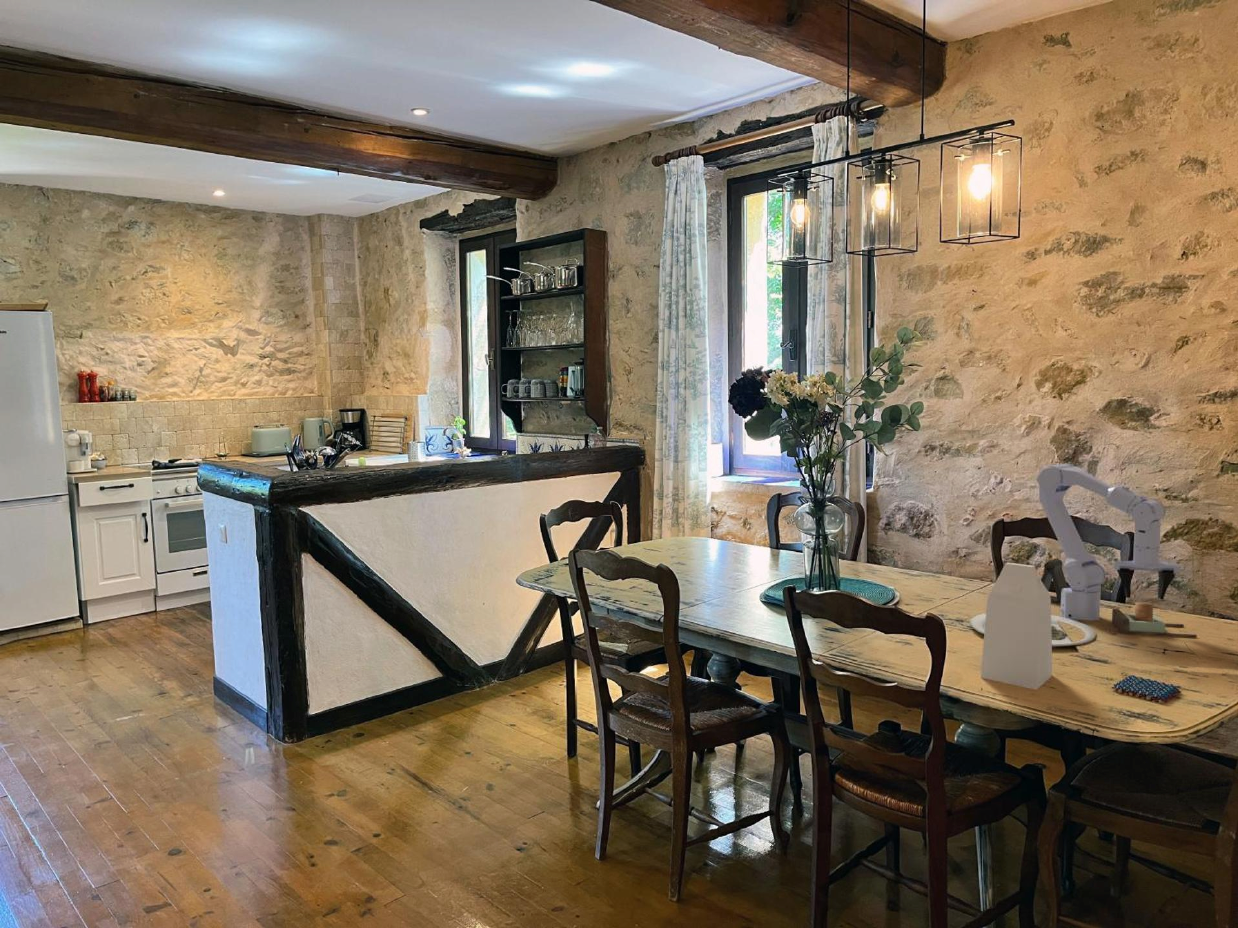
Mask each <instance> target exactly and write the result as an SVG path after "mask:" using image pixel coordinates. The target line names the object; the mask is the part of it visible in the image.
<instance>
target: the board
mask: <svg viewBox="0 0 1238 928" xmlns="http://www.w3.org/2000/svg"><path fill="white" fill-rule="evenodd" d="M1111 610H1112V613H1111V614H1112V615H1111V616H1112V618H1111V624H1112V625H1113V626H1114V627H1115V628H1116V629H1117V630H1118V632H1120V633H1121V634H1122V635H1135V636H1137V635H1138V636H1153V637H1156V636H1157V637H1172V638H1173V637H1174V638H1189V639H1197V634H1192V633H1191V634H1190V633H1175V632H1174V633H1172V632H1165V633H1158V632H1140V631H1129V619H1128V618H1127V617H1126V616H1125V615H1124V614H1125V613H1124V614H1123V612H1122V611H1121V610H1120V609H1119V608H1112V609H1111ZM1164 623H1165V628H1166V627H1168V628H1169V627H1170V628H1184V627H1185V626H1184V625H1185V624H1183V623H1168V622H1167V623H1166V622H1164Z"/></svg>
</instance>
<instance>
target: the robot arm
mask: <svg viewBox="0 0 1238 928" xmlns="http://www.w3.org/2000/svg"><path fill="white" fill-rule="evenodd" d="M1036 482H1037V483H1038V486H1039V487H1038V488H1039V489H1038V491H1039V492H1038V495H1039V502H1040V505H1041V507H1042V509H1043V511H1044V513H1045V515H1046V517H1047V519H1048V520H1047V521H1048V522H1049V525H1050V526H1051V528H1052V531H1053V532H1054V535H1055V537H1056V539H1057V541H1058V543H1059V546H1060V547H1061V550H1062V552H1063V553H1064V556H1065V558H1066V559H1065V562H1064V564H1063V567H1064V569H1065V573H1066V575H1065V580H1066V583H1067V585H1069V586H1070V587H1068V588H1063V589H1062V592H1061V604H1060V615H1061V617H1064V618H1068V619H1071V620H1075V621H1079V620H1081V621H1098V620H1100V616H1101V615H1100V612H1101V591H1102V589H1101V587H1102V584H1103V583H1104V582H1105V581H1106V578H1107V572H1106V570H1105V568H1104V567H1103V566H1102V565H1101V564H1100V563H1099V562H1098V561H1097V559H1096V557H1095V556H1093V555H1092V554H1091V553H1090V552H1088V551H1087V549H1086V547H1085V545H1084V542H1083V540H1082V538H1081V536H1080V534H1079V532H1078V530H1077V528H1076V525H1075V524H1074V522H1073V519H1072V517H1071V515H1070V513H1069V511H1068V509H1067V507H1066V504H1065V503H1064V500H1063V499H1064V497H1065V495H1066V493H1067V491H1068V490H1069V489H1070V488H1071V487H1072V486H1079V487H1081V488H1083V489H1085V490H1087V491H1089V492H1092V493H1095V494H1097V495H1099V496H1102V497H1103V498H1105V500H1106V503H1107V504H1108V505H1109V506H1111V507H1112V508H1115V509H1117V510H1119V511H1121V512H1123V513H1125V514H1127V515H1129V516H1130V517H1131V519H1132V520H1133V521H1134V533H1133V534H1134V535H1133V536H1134V538H1133V539H1134V540H1133V557H1132V560H1124V561H1123V560H1122V561H1121V560H1116V561H1115V560H1114V561H1113V569H1114V570H1115V571H1117V574H1118V575H1119V578H1120V579H1121V583H1122V586H1123V589H1124V596H1125V597H1126V598H1128V599H1131V596H1132V593H1131V592H1132V590H1131V588H1132V587H1131V586H1132V585H1131V584H1132V578H1133V574H1132V572H1131V571H1148V572H1149V571H1150V572H1158V573H1157V576H1158V588H1157V589H1158V591H1157V598H1158V599H1160V600H1164V599H1165V596H1166V592H1167V590H1168V588H1169V586H1170V584H1171V583H1172V581H1173V580H1174V579H1175V574H1176V573H1179V571H1180V570H1179V568H1180V565H1179V564H1177V563H1176V562H1174V563H1173V562H1162V561H1160V548H1161V547H1160V545H1161V526H1162V525H1161V523H1162V519H1164V517H1165V516H1166V507H1165V505H1164V504H1163V503H1162V502H1161V501H1159V499H1157V498H1150V499H1148V498H1147V496H1146V495H1144V494H1141V495H1140V494H1139V493H1137V492H1134V491H1133V490H1130V486H1127V485H1116V486H1111V485H1110V484H1108V483H1107V482H1105V481H1102V480H1101V479H1099V478H1097V477H1096V476H1094V475H1092V474H1090V473H1089V472H1086V471H1085V470H1083V469H1082V467H1079V466H1075V465H1073V464H1071V463H1068V462H1067V463H1061V464H1055V465H1045V466H1044V467H1042V468H1041V469H1040V471H1039V473H1038V475H1037V477H1036ZM1069 615H1070V616H1069Z"/></svg>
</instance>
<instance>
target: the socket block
mask: <svg viewBox="0 0 1238 928" xmlns="http://www.w3.org/2000/svg"><path fill="white" fill-rule="evenodd" d="M1122 613H1123V612H1122ZM1123 614H1124V615H1125V616H1126V617H1127V618H1128V619H1129V631H1140V632H1158V633H1166V627H1165V623H1166V622H1164V621H1163V620H1162V619H1161V618H1159V617H1158V616H1157V615H1156V614H1153V622H1149V621H1135V613H1123Z"/></svg>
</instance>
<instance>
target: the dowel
mask: <svg viewBox="0 0 1238 928" xmlns="http://www.w3.org/2000/svg"><path fill="white" fill-rule="evenodd" d="M1134 614H1135V621H1149V622H1153V615H1154V604H1153V603H1152V602H1146V601H1136V602H1135V604H1134Z"/></svg>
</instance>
